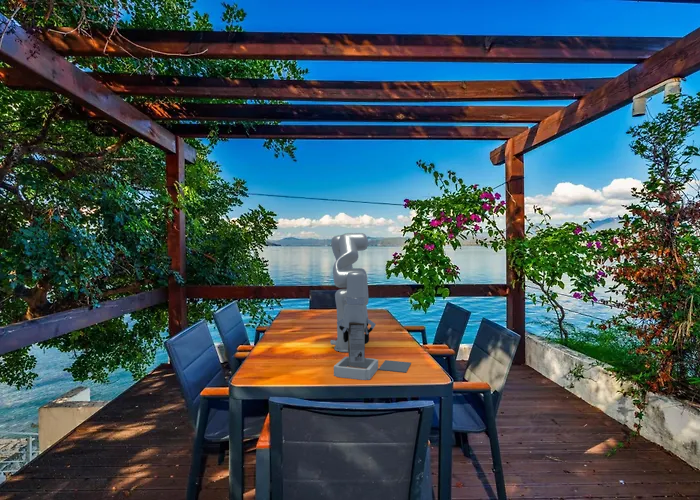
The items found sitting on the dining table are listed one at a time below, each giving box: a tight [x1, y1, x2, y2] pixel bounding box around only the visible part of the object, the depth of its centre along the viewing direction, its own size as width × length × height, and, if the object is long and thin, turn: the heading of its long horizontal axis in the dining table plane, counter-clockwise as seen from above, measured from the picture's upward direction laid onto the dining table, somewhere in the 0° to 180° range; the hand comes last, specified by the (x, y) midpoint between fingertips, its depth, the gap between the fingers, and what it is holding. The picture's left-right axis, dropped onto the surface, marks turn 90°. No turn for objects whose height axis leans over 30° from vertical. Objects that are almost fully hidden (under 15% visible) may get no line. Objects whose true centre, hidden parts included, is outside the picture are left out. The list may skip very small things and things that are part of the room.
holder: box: [333, 356, 379, 381], centre depth 148 cm, size 15×15×4 cm
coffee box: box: [347, 322, 366, 363], centre depth 148 cm, size 9×6×16 cm
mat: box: [377, 359, 412, 374], centre depth 154 cm, size 12×13×1 cm
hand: (356, 342), depth 148 cm, fingers closed on coffee box, 8 cm apart
